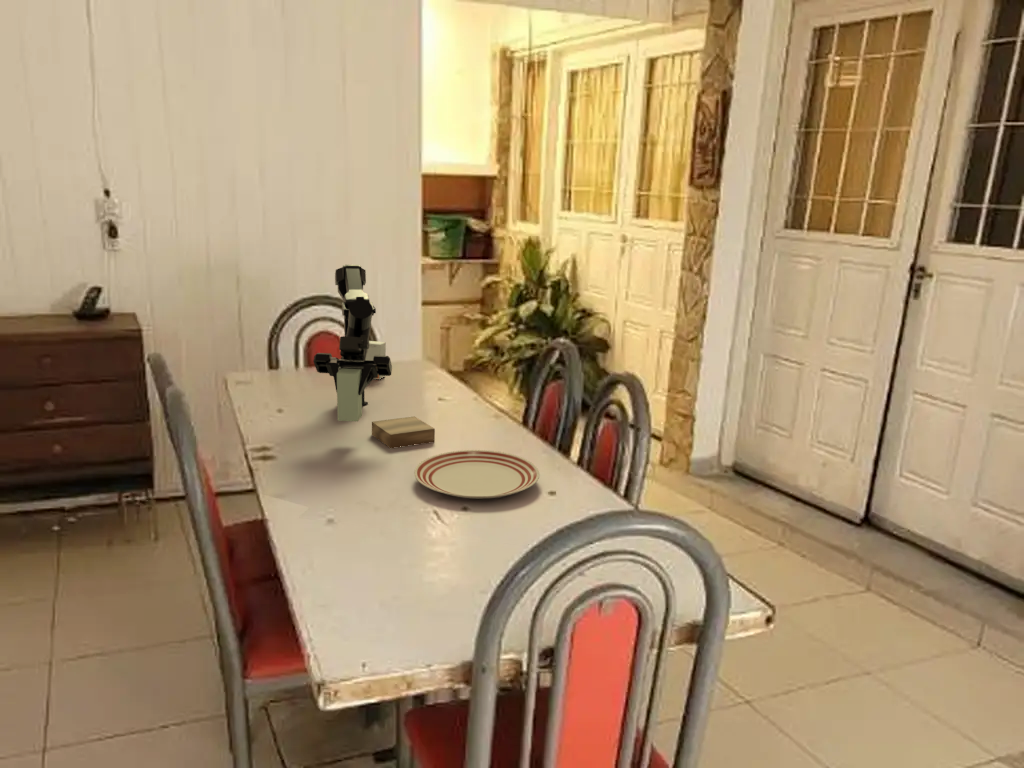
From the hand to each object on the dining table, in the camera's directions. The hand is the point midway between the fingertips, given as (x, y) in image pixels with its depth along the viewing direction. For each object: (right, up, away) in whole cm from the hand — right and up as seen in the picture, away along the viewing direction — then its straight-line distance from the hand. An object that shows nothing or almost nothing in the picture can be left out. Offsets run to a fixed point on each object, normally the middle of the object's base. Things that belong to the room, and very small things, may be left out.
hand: (348, 393), depth 200 cm
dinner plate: (+32, -20, -20) cm, 43 cm away
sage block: (0, -6, +3) cm, 7 cm away
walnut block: (+12, -12, +9) cm, 19 cm away
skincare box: (-5, +4, +70) cm, 70 cm away
